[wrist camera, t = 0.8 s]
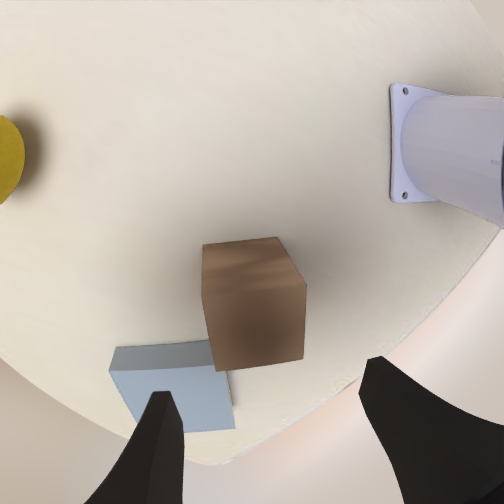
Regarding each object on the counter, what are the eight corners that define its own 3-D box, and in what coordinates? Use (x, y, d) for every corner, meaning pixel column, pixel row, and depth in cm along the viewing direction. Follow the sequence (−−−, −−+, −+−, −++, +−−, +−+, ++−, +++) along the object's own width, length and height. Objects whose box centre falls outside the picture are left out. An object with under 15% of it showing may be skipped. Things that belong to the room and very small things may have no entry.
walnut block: (277, 236, 18) (306, 284, 13) (278, 299, 20) (303, 358, 15) (202, 244, 18) (201, 297, 12) (212, 307, 20) (215, 372, 14)
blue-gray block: (220, 335, 21) (222, 363, 18) (232, 402, 24) (235, 428, 21) (117, 343, 20) (108, 370, 17) (146, 407, 23) (143, 433, 21)
